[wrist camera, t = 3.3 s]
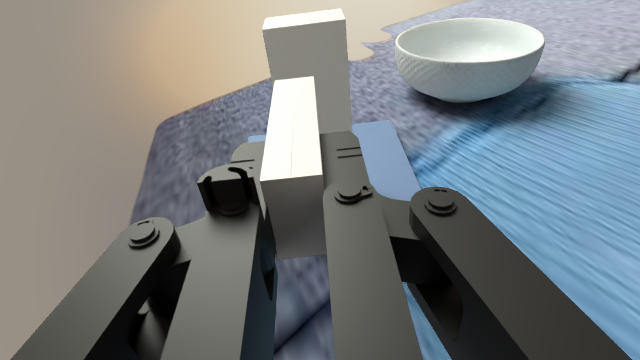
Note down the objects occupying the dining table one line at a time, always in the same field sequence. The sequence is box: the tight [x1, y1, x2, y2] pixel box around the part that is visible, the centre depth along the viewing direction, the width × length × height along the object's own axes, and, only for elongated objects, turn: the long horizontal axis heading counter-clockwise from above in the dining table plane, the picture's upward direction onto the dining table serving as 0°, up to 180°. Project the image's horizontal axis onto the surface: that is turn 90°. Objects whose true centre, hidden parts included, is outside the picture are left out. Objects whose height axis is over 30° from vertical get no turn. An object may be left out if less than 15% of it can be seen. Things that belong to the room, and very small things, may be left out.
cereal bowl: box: [395, 18, 545, 103], centre depth 47 cm, size 17×17×7 cm
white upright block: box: [262, 9, 352, 134], centre depth 27 cm, size 3×5×14 cm, turn 93°
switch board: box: [248, 120, 421, 201], centre depth 35 cm, size 16×16×2 cm
